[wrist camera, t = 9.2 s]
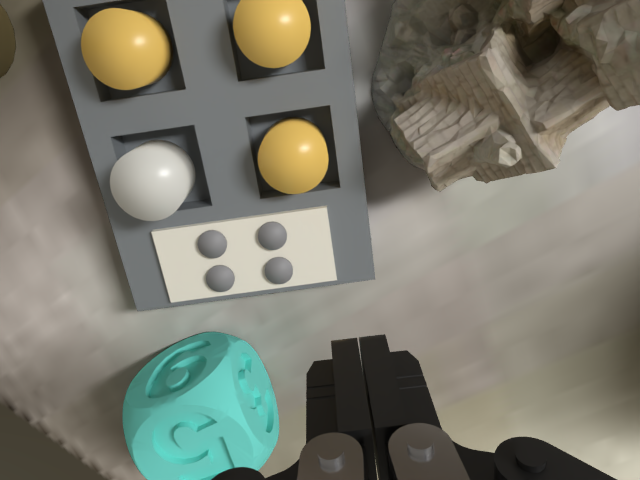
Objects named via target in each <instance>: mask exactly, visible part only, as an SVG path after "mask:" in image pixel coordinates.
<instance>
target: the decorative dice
mask: <svg viewBox="0 0 640 480" xmlns="http://www.w3.org/2000/svg"><path fill="white" fill-rule="evenodd" d="M123 430H124V435H125V440H126V444H127V447H128V450H129V453H130V455H131V457H132V460H133V461H134V463H135V465H136V467H137V468H138V470H139V471H140V472H141V474H142V475H143V476H144V477H145V478H146V479H147V480H211V479H213V478H214V477H215V476H216V475H218V474H219V473H221V472H223V471H225V470H228V469H231V468H236V467H248V468H252V469H255V470H257V471H258V470H259V469H260V468H261V467H262V466H263V465H264V463H265V462H266V461H267V459H268V458H269V456H270V455H271V453H272V451H273V449H274V447H275V445H276V442H277V440H278V435H279V417H278V409H277V404H276V399H275V395H274V392H273V388H272V385H271V382H270V379H269V377H268V374H267V372H266V369H265V367H264V365H263V363H262V361H261V360H260V358H259V356H258V355H257V353H256V352H255V350H254V349H253V348H252V347H251V346H250V345H249V344H248V343H247V342H245V341H243V340H242V339H239V338H237V337H235V336H232V335H228V334H224V333H218V332H207V333H201V334H198V335H194V336H192V337H189V338H187V339H184V340H182V341H180V342H178V343H176V344H174V345H172V346H171V347H169V348H167V349H166V350H164V351H163V352H161V353H160V354H158V355H157V356H156V357H155V358H153V359H152V360H151V361H150V362H149V363H147V364H146V365H145V366H144V367H143V368H142V369H141V370H140V371H139V372H138V374H137V375H136V376H135V377H134V379H133V380H132V382H131V383H130V385H129V387H128V389H127V392H126V395H125V399H124V404H123Z"/></svg>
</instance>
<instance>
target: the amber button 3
mask: <svg viewBox="0 0 640 480" xmlns="http://www.w3.org/2000/svg"><path fill="white" fill-rule="evenodd" d="M328 161H329V159H328V151H327V146H326V141H325V138H324V136H323V134H322V132H321V130H320V129H319V128H318V127H317V126H316V125H315V124H314V123H312V122H311V121H309V120H307V119H304V118H300V117H288V118H284V119H281V120H279V121H277V122H276V123H274V124H273V125H272V126H271V127H270V128H269V129H268V131H267V133H266V134H265V137H264V139H263V141H262V143H261V145H260V148H259V152H258V166H259V170H260V172H261V174H262V176H263V178H264V179H265V181H266V182H267V183H268V184H269V185H270V186H271V187H273V188H274V189H276V190H278V191H280V192H283V193H287V194H300V193H304V192H307V191H309V190H311V189H313V188H314V187H316V186H317V185H318V184H319V183H320V182H321V181H322V179H323V178H324V176H325V174H326V171H327V168H328Z"/></svg>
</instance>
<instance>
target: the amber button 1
mask: <svg viewBox="0 0 640 480" xmlns="http://www.w3.org/2000/svg"><path fill="white" fill-rule="evenodd" d="M81 50H82V55H83V58H84V61H85V63H86V65H87V67H88V68H89V70H90V71H91V72H92V74H93V75H94V76H95V77H96V78H97V79H98V80H100V81H101V82H102V83H104V84H105V85H107V86H110V87H112V88H115V89H120V90H131V89H136V88H139V87H143V86H147V85H150V84H153V83H156V82H158V81H159V80H161V79H162V78H163V77H164V76H165V75H166V74H167V72H168V71H169V69H170V67H171V64H172V60H173V46H172V42H171V39H170V36H169V34H168V32H167V31H166V29H165V28H164V26H163V25H162V24H161V23H160V22H159V21H158V20H156V19H155V18H153V17H152V16H150V15H148V14H145V13H142V12H137V11H132V10H126V9H121V8H109V9H104V10H102V11H99V12H98V13H96V14H95V15H93V16H92V17H91V18H90V19H89V20H88V22H87V23H86V25H85V27H84V29H83V33H82V37H81Z"/></svg>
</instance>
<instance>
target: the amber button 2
mask: <svg viewBox="0 0 640 480" xmlns="http://www.w3.org/2000/svg"><path fill="white" fill-rule="evenodd" d="M233 30H234V36H235V39H236V42H237V44H238V46H239V48H240V49H241V51H242V52H243V54H244V55H245V56H246V57H247V58H248V59H249V60H251V61H252V62H254V63H256V64H258V65H260V66H263V67H267V68H280V67H284V66H286V65H289V64H291V63H292V62H294V61H295V60H297V59H298V58H299V57H300V56H301V54H302V53H303V52H304V50H305V48H306V46H307V44H308V41H309V38H310V32H311V23H310V17H309V14H308V11H307V9H306V6H305V5H304V3H303V1H302V0H240V2H239V4H238V6H237V8H236V10H235V14H234V19H233Z"/></svg>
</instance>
